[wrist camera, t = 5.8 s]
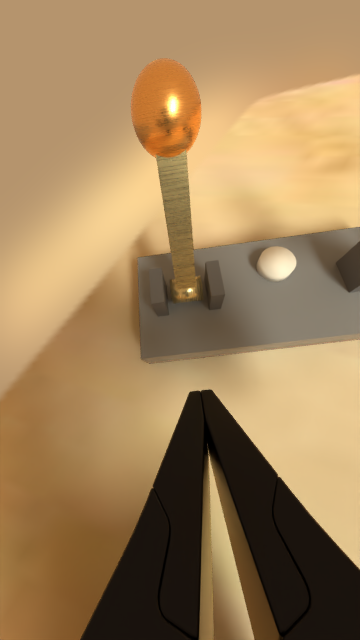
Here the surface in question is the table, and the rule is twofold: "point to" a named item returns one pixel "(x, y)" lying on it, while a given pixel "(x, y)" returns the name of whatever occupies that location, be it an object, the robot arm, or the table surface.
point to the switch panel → (254, 297)
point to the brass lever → (171, 157)
